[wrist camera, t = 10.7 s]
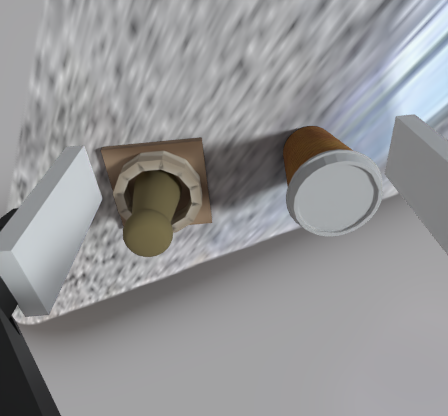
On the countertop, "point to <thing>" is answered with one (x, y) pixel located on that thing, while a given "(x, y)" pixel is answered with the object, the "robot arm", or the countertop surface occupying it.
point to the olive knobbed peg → (152, 213)
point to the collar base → (171, 146)
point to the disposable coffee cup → (329, 183)
